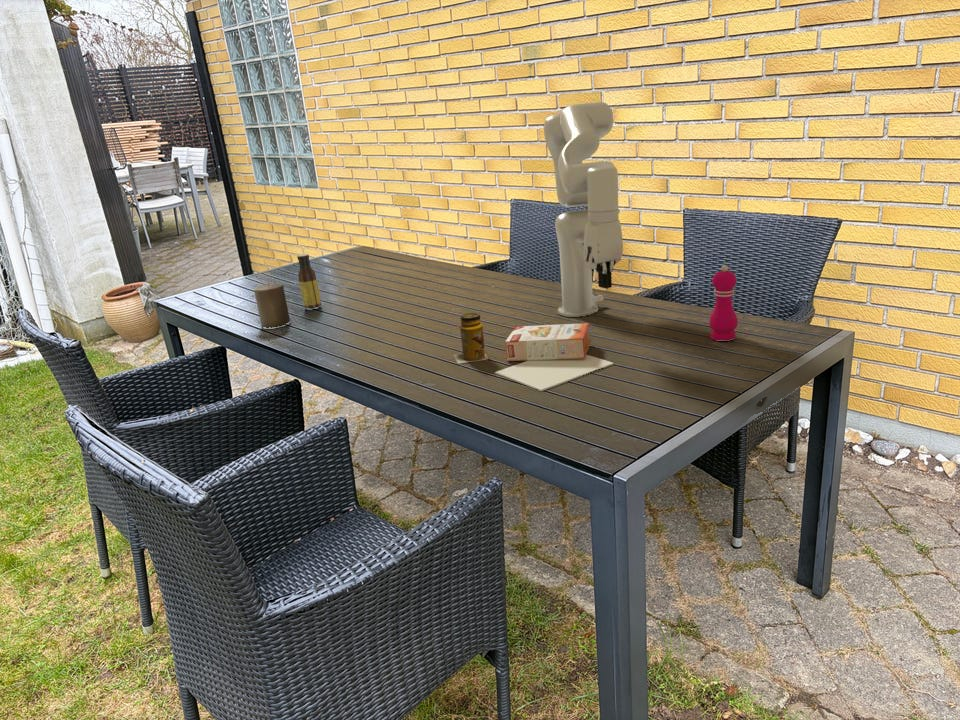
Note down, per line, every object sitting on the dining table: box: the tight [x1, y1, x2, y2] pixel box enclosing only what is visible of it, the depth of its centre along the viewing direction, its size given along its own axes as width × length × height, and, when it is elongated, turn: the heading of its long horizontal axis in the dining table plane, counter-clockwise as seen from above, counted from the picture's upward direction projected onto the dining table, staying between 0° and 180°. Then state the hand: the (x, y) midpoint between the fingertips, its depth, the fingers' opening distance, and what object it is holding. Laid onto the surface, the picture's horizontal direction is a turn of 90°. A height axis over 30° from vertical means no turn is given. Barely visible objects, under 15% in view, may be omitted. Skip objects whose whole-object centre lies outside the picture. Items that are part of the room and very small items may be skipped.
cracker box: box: [504, 322, 592, 362], centre depth 196 cm, size 14×6×21 cm
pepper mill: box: [708, 264, 739, 340], centre depth 193 cm, size 7×7×20 cm
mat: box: [494, 354, 615, 392], centre depth 185 cm, size 24×18×1 cm
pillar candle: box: [253, 282, 291, 328], centre depth 246 cm, size 10×10×15 cm
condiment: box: [452, 312, 490, 365], centre depth 198 cm, size 7×8×12 cm
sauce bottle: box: [296, 253, 322, 309], centre depth 263 cm, size 6×6×20 cm
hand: (605, 287), depth 191 cm, fingers closed
